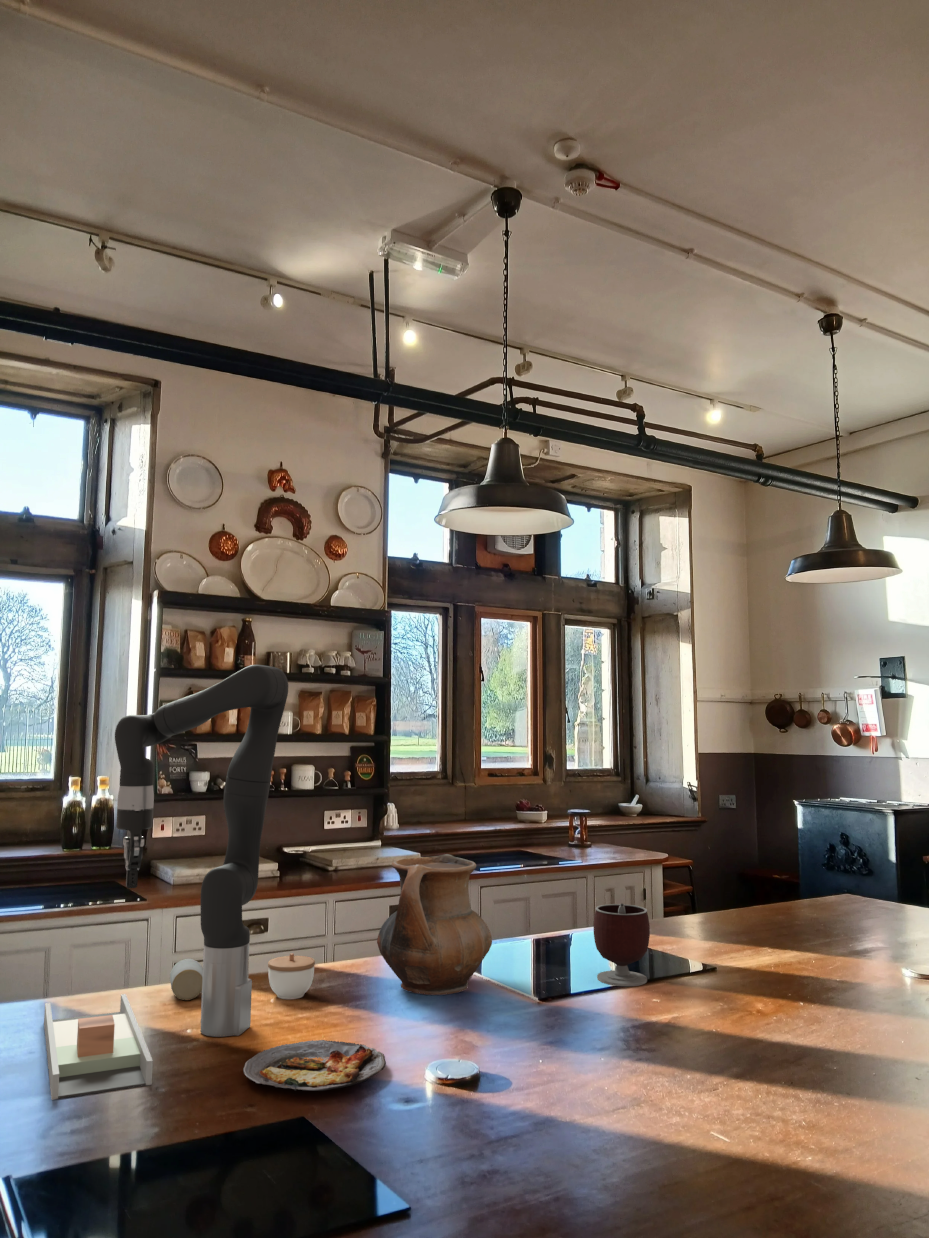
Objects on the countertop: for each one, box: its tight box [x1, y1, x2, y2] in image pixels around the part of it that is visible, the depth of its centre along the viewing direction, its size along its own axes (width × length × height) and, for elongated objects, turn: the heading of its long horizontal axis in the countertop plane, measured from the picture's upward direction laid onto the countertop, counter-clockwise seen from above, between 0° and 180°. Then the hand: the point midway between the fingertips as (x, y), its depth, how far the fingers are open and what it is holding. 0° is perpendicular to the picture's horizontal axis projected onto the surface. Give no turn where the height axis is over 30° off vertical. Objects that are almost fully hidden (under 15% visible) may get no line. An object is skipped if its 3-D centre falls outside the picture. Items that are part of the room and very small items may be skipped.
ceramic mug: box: [169, 958, 203, 1001], centre depth 214 cm, size 11×8×8 cm
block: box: [77, 1015, 115, 1057], centre depth 171 cm, size 6×6×5 cm
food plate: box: [243, 1039, 387, 1092], centre depth 167 cm, size 25×23×4 cm
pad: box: [56, 1037, 140, 1077], centre depth 171 cm, size 10×14×2 cm
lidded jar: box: [267, 952, 316, 1000], centre depth 215 cm, size 11×11×9 cm
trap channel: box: [43, 993, 154, 1101], centre depth 178 cm, size 44×16×4 cm, turn 26°
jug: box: [376, 853, 493, 996], centre depth 226 cm, size 32×28×30 cm
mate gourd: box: [593, 902, 651, 987], centre depth 231 cm, size 16×14×20 cm
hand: (131, 887), depth 201 cm, fingers closed
